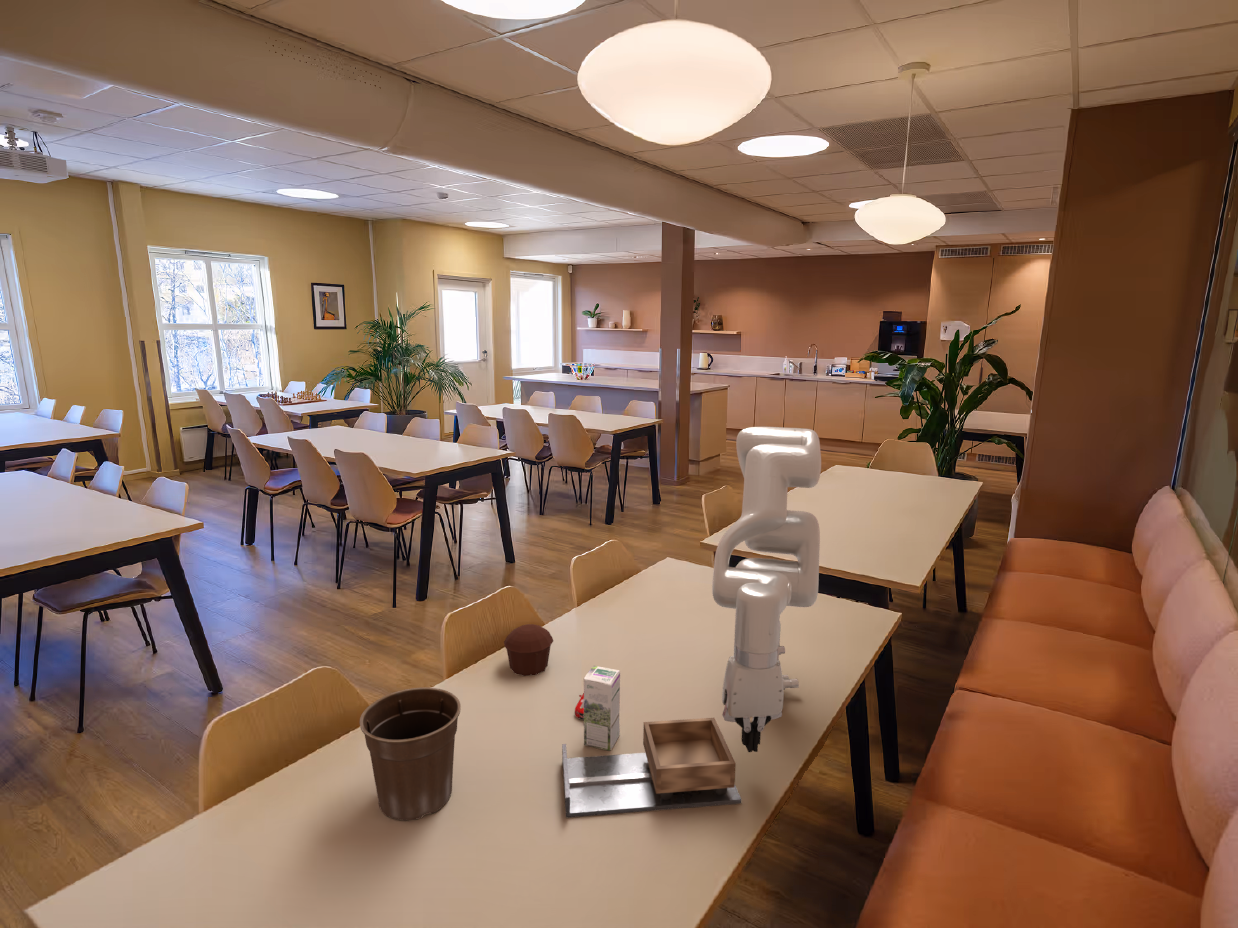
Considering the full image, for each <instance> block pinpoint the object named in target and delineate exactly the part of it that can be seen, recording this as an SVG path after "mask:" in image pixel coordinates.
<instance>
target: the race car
mask: <svg viewBox="0 0 1238 928" xmlns="http://www.w3.org/2000/svg"><path fill="white" fill-rule="evenodd" d="M578 696H579V697H580V698H579V700H578V702H577V704H576V705H575V708H574V716H575V718H577V719H579V720H582V721H584V692H583V694H579V695H578Z"/></svg>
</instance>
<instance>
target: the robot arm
mask: <svg viewBox="0 0 1238 928" xmlns="http://www.w3.org/2000/svg"><path fill="white" fill-rule="evenodd" d="M735 442H736V445H735V446H736V447H735V448H736V454H737V459H738V464H739V467H740V470H741V474H742V476H743V477H742V478H744V481H743V494H742V505H741V506H742V507H741V508H742V509H741V514H740V515H741V516H740V517H739V518H738V519H737V520H736V521H735V522H734V523H733V524H731V526H730V527H728V529H727V530H726V531H725V533H724V534H723V535H722V537H721V539H720V541H719V543H718V544H717V547H716V550H715V554H714V564H713V572H712V585H711V588H712V589H711V593H712V598H713V600H714V602H715V603H716V605H718V606H719V607H721V608H725V609H735V622H734V639H733V640H734V642H733V643H734V644H733V655H730V656H729V657H728V660H727V663H726V667H725V672H724V678H723V685H722V692H721V693H722V694H721V701H722V704H723V706H724V708H723V711H722V714H721V716H722V718H723V720H724V721H726V722H731V723H736V724H737V725H738V726H739V727H740V728H741V743H742V746H745V748H746V751H747V752H748V753H752V752H754V753H758V752H759V751H758V750H759V745H761V736H762V735H761V734H762V732H763V731H764V729H765V726H766V725H767V724H768V723H769V722H771V720H776V719H779V718H781V717H783V712H782V711H783V708H784V700H785V699H784V695H785V693H784V691H785V690H786V689H796V688H797V689H798V688H799V686H800V683H799V680H798V678H790V677H789V675H788V674H783V670H782V665H781V660H780V659H779V658H780V655H783V654H786V648H785V646H784V645H780V642H781V630H782V629H781V625H782V623H781V620H780V618H781V614H782V613H783V611H785V609H786V607H796V608H809V607H812V606H813V605H814V604H815V603H816V601H817V599H818V595H819V581H820V579H819V575H820V548H821V547H820V546H821V545H820V544H821V541H820V540H821V538H820V537H821V536H820V533H821V532H820V523H819V521H818V518H817V517H816V516H815V514H813V513H811V512H809V511H804V510H791V509H790V510H789V509H787V508H788V492H789V491H788V490H789V489H788V488H805V489H812V488H814V487H816V486H817V484H818V482H819V481H820V477H821V472H822V453H821V443H820V437H819V435H818V433H817V432H816V431H815V430H813V429H811V428H799V427H781V426H779V427H778V426H750V427H747V428H743V429H741V430H740V431H739V432H738V434H737V436H736V441H735ZM743 542H744V543H745V544H744V545H745V546H746V547H747V548H748V549H750V550H752V551H755V552H761V553H768V554H771V553H772V554H779V555H780V554H782V555H790V556H791V555H792V556H794V557H795V558H796V559H797V561H795V560H784V559H777V558H776V559H775V558H764V557H763V558H762V557H749V558H745V559H742V560H741V561H739V562H738V564H737V565H736V566H735V567H733V566H730V558H731V556H732V555H731V554H732V553H733V551H734V550H735V549H736V547H737V546H739V545H740V544H741V543H743ZM750 718H752V721H751V719H750Z"/></svg>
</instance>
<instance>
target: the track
mask: <svg viewBox="0 0 1238 928" xmlns="http://www.w3.org/2000/svg"><path fill="white" fill-rule="evenodd" d="M561 745H562V747H561V750H562V751H561V753H562V754H561V755H562V759H561V760H562V761H561V763H562V776H563V777H562V779H563V794H564V795H563V796H564V808H565V818H566V819H567V818H568V819H569V818H578V817H579V818H580V817H591V816H593V817H594V816H604V815H615V814H616V815H617V814H628V813H629V814H630V813H639V812H641V813H642V812H654V811H663V810H665V811H666V810H676V809H677V810H678V809H688V808H702V807H712V806H713V807H714V806H725V805H737V804H742V797H741V796H740V793H739V791H738V788H737V785H735V787H734V788H727V792H726V794H724V795H718V794H717V793H716V791H715V789H708V790H695V791H683V792H672V797H671V798H670V799H668V800H664V799H662V797H661V794H660V793H657V794H656V791H655V787H654V784H653V780H652V776H651V772H650V768H649V764H648V761H647V757H646V753H645V752H634V753H633V752H632V753H624V754H623V753H622V754H608V755H607V754H605V755H593V756H579V757H568V753H567V743H562V744H561Z"/></svg>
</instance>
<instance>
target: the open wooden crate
mask: <svg viewBox="0 0 1238 928" xmlns="http://www.w3.org/2000/svg"><path fill="white" fill-rule="evenodd" d="M642 736H643V737H642V738H643V739H642V740H643V741H642V745H643V749H644V753H646V757H647V761H648V764H649V768H650V772H651V776H652V780H653V784H654V787H655V791H656V794H657V793H660V794H661V797H662V799H664V800H668V799H670V798H671V797H672V792H683V791H695V790H708V789H715V791H716V793H717V794H718V795H724V794H726V792H727V788H734V787H735V786H736V783H735V782H736V765H737V764H736V763H737V762H736V761H735V759H734V757H733V755H732V753H731V750H730V748H729V746H728V744H727V742H726V740H725V738H724V735H723V733H722V731H721V729H720V726H719V725H718V722H717V721H716V718H715V717H701V718H689V719H688V718H687V719H685V718H684V719H672V720H671V719H670V720H655V721H644V722H643V735H642Z"/></svg>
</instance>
